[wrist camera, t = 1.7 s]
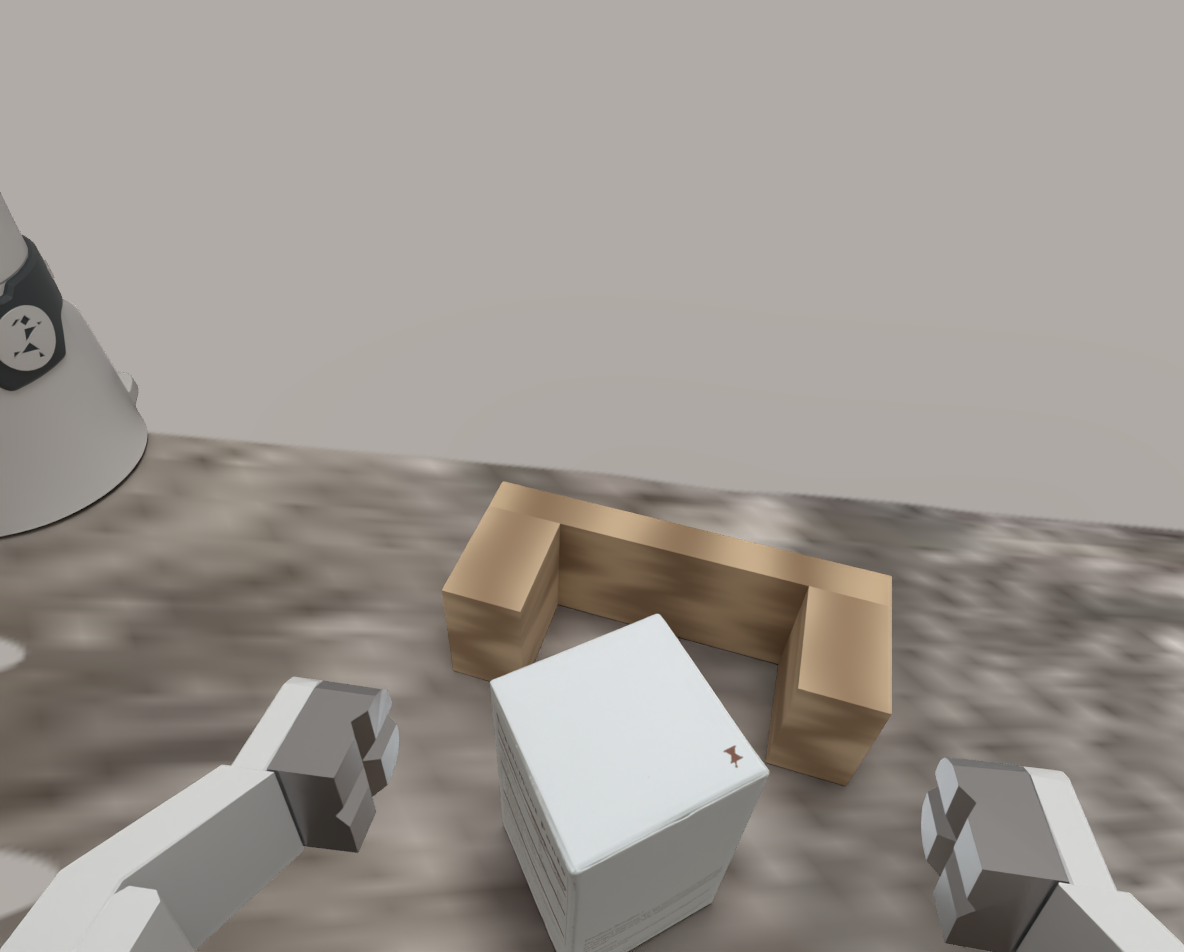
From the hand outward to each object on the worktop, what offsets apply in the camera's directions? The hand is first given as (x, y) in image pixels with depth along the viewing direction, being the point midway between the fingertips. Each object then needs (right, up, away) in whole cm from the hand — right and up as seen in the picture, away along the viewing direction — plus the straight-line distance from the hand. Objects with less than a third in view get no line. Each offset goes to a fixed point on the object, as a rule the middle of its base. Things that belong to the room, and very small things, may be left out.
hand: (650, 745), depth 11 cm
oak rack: (+3, -6, +31) cm, 31 cm away
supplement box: (0, -14, +23) cm, 27 cm away
